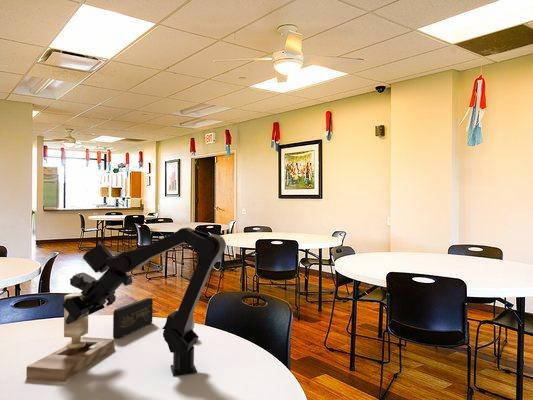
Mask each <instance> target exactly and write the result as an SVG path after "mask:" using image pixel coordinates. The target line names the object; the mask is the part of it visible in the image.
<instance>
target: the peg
mask: <svg viewBox="0 0 533 400" xmlns="http://www.w3.org/2000/svg"><path fill="white" fill-rule="evenodd" d="M72 296H79V297H80V298H81V299H82V298H84V297H85V296H83V295H82V294H81V292H72V293H69V294H65V295H64V299H63V301H64V300H65V299H66V298H69V297H72ZM87 314H88V313H87ZM63 315H64V316H63V317H64V318H63V337H64V338H71V340H70V341H68V342H67V343H66V346H67V348H68V349H77V348H81V347H84V346H85V340H81V338H82V337H84V336H85V335H87V334H89V315H87V316H85V317H83V318H81V319H79V320H77V321H74V322H72V323H70V324H66V322H65V321H66V319H67V317H68V315H69V313H68V312H67V310H66V309H65V308H64V307H63Z"/></svg>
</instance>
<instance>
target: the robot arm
mask: <svg viewBox="0 0 533 400" xmlns="http://www.w3.org/2000/svg"><path fill="white" fill-rule="evenodd" d="M182 244H186V245H187V246H189V247H191V248H193V249H196V250H198V251H197V255H196V256H197V258H196V266H195V269H194V270H193V272H192V276H191V278H190V280H189V283H188V285H187V288H186V289H185V292H184V295H183V298H182V299H181V302H180V305H179V307H178V308H179V309H178V308H177V309H178V311H177V310H176V309H175V310H176V311H175V310H174V311H172V312H171V313H170V314H169V315H167V317H166V321H165V324H164V326H163V327H162V330H163V331H162V332H163V333H162V337H163V339H164V341H165V342H166V343H167V347H168V350H169V353H173V354H172V355H173V357H172V362H173V363H172V364H170V370H171V374H172V376H180V375H187V374H189V375H190V374H195V373H198V369H197V367H196V365H195V345H197V343H198V340H199V335H198V334H197V333H196V332H195V331H194V329H193V330H192V329H191V327H192V323H193V317H194V312H195V311H196V307H197V305H198V303H199V300H200V297H201V295H202V293H203V290H204V288H205V286H206V283H207V280H208V278H209V276H210V273H211V271H212V269H213V267H214V266H215V264H217V262H218V261H219V259H220V258H221V257H222V254H223V253H224V251H225V249H226V247H227V243H226V240H225V239H224V237H223V236H221V235H220V234H212V235H211V234H208V233H205V232H202V231H198V230H195V229H193V228H191V227H182V228H179V229H178V230H177V231H175V232H173V233H171V234H169V235H167V236H164V237H162V238H160V239H158V240H155V241H154V242H152V243H150V244H148V245H146V246H144V247H139V248H135V249H132V250H126V251H124V252H121V253H119V254H117V255H113V254H112V253H111V252H110V251H109V249H107V246H106V245H105V244H104V243H98V244H97V245H96V246H95V247H93V248H91V249H90V250H89V251H86V252H85V253H84V254H83V256H82V259H83V260H84V262H85V263H86V264H87V265H88V266H89V267H90V268H91V269H92V271H93V272H94V273H97V274H98V273H100V274H102V275H100V277H99V278H98V279H96V278H95V277H94V276H91V275H90V274H88V273H86V272H78V273H75V274H74V275H72V277H71V278H70V279H69V281H70V282H69V284H70V285H71V286H72V287H73V288H76V289H78V290H81V292H80V293H81V294H82V295H83V296H85V297H84V298H82V299H81V298H80V297H79V296H72V297H69V298H66V299H65V300H64V299H63V300H62V302H61V306H62V307H63V309H64V308H65V309H66V310H67V312H68V313H69V315H68V317H67V319H66V321H65V322H66V324H70V323H72V322H74V321H77V320H79V319H81V318H83V317H85V316H87V315H88V316H90V315H92V314H94V313H95V314H96V313H97V312H99V311H101V310H103V309H105V306H106V307H109V306H111V305H113V304H114V303H115V302H116V299H117V298H116V297H117V296H116V295H115V294H116V290H117V289H118V288H119V287H120V286H121V285H122V284H123V286H124V287H127V286H128V285H132V284H133V274H128V273H130V272H132V271H137V270H139V269H141V268H142V267H143V266H145V265H146V264H147V263H149V262H150V261H151V260H152V259H153V258H155V257H157V256H159V255H162V254H164V253H166V252H167V251H170V250H172V249H174V248H176V247H179V246H181V245H182ZM87 313H88V314H87Z"/></svg>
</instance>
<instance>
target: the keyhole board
mask: <svg viewBox="0 0 533 400" xmlns="http://www.w3.org/2000/svg"><path fill="white" fill-rule="evenodd" d="M81 340H85V346H84V347H81V348H77V349H68V348H67V345H65V346H63V347H62V348H59V349H58V350H55V351H54V352H52V353H50V354H48V355H47V356H44V357H43V358H40V359H39V360H36V361H35V362H33V363H31V364H28V365H27V366H26V376H25V378H26V379H28V380H41V381H42V380H43V381H53V382H63V383H64V382H67V381H69V380H70V379H71V378H72V377H74V376H75V375H77V374H78V373H80V372H81V371H83V370H84V369H86V368H88V367H90V366H91V365H92V364H94V363H95V362H97V361H98V360H100V359H101V358H103V357H105V356H107V355H108V354H109V353H111V352H112V351H113V350H115V347H116V346H115V345H116V343H115V342H116V339H115V338H105V337H90V336H89V337H88V336H87V337H86V336H81Z"/></svg>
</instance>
